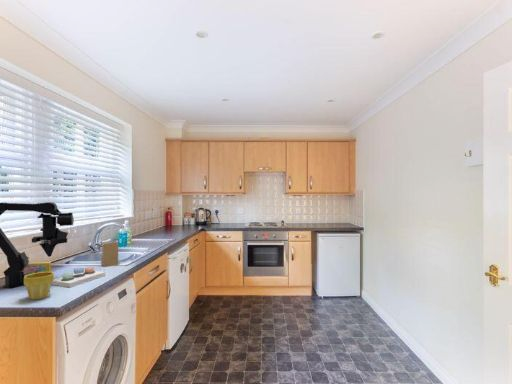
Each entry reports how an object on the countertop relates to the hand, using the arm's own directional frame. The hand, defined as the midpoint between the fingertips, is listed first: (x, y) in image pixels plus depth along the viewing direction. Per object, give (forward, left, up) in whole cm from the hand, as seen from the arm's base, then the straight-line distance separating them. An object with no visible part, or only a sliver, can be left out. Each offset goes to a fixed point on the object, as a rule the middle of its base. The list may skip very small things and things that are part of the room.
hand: (49, 256), depth 141 cm
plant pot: (-16, -18, -13) cm, 27 cm away
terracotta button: (+13, -12, -10) cm, 20 cm away
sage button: (+1, -12, -10) cm, 16 cm away
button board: (+7, -12, -13) cm, 19 cm away
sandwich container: (+38, +1, -13) cm, 40 cm away
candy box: (+2, +15, -13) cm, 20 cm away
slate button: (+7, -12, -9) cm, 17 cm away
